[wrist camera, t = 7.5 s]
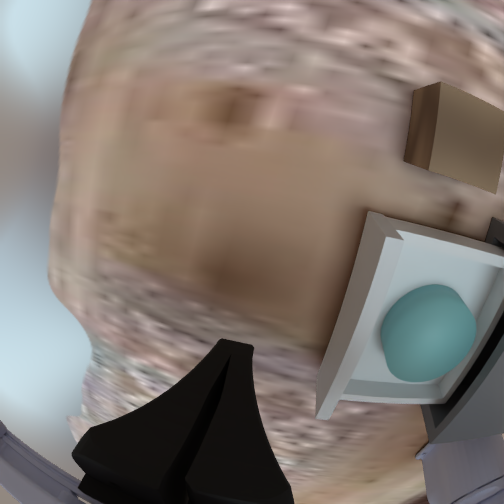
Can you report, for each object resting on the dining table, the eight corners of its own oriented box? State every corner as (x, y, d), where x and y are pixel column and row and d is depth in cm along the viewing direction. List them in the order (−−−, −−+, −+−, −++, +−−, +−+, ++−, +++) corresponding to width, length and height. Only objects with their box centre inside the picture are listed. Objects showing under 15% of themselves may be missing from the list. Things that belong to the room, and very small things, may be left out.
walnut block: (463, 180, 13) (495, 194, 10) (403, 161, 13) (428, 170, 10) (474, 114, 11) (508, 113, 8) (414, 90, 12) (440, 81, 9)
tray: (437, 385, 17) (449, 422, 14) (316, 375, 18) (315, 418, 15) (507, 247, 12) (540, 275, 9) (368, 210, 14) (386, 236, 10)
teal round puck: (380, 367, 16) (384, 389, 15) (378, 294, 15) (385, 315, 13) (457, 349, 15) (466, 370, 13) (468, 276, 13) (483, 293, 11)
